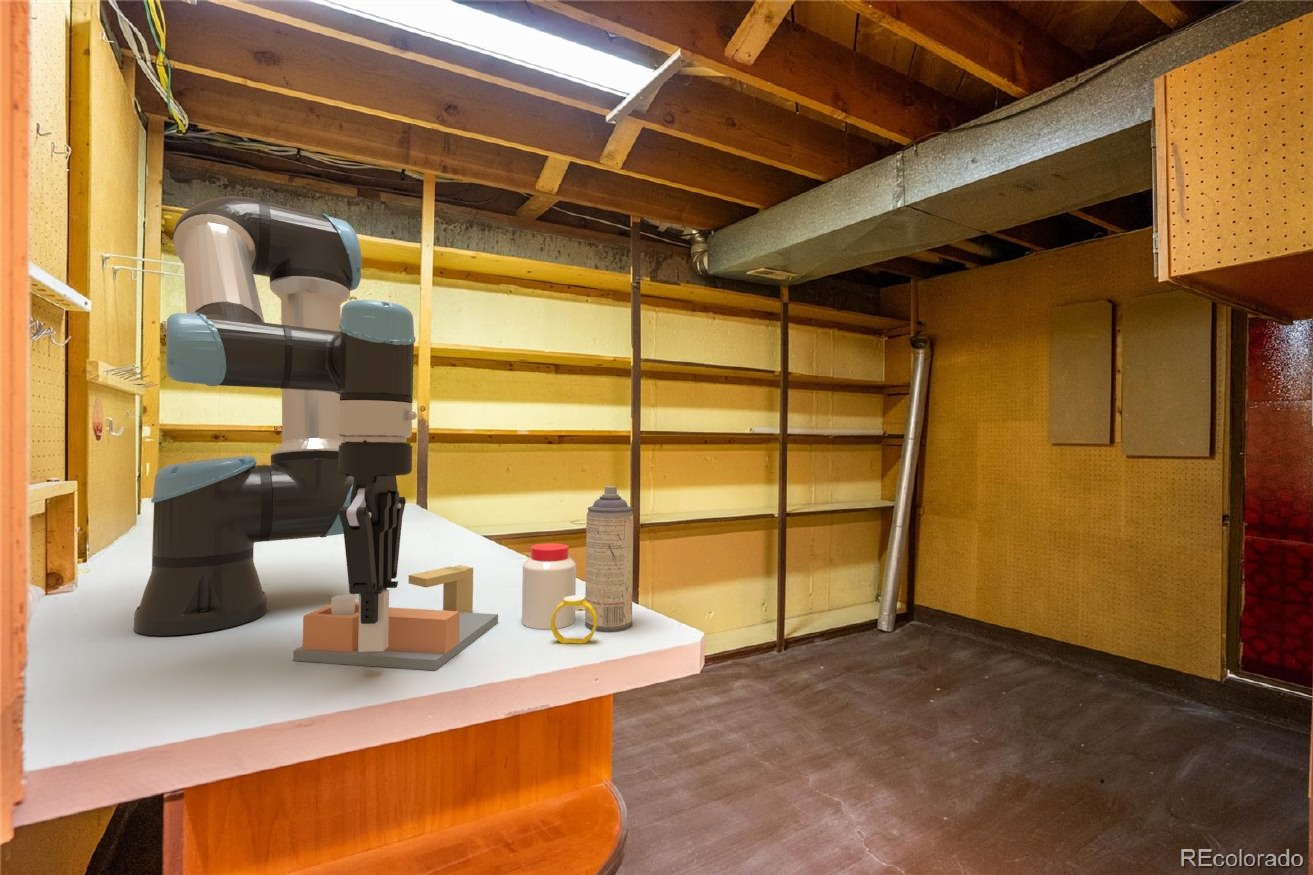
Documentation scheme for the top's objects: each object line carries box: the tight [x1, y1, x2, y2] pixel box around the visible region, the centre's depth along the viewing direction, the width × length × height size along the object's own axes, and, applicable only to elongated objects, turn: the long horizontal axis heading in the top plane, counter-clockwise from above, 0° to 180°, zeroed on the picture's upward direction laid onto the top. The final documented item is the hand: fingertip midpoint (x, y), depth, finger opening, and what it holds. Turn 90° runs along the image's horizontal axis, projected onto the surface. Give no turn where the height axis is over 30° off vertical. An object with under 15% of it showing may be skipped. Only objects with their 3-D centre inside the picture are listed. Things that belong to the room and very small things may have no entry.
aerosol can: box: [584, 485, 634, 633], centre depth 85 cm, size 7×7×20 cm
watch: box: [550, 595, 597, 645], centre depth 78 cm, size 6×3×6 cm, turn 91°
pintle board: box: [292, 564, 499, 672], centre depth 79 cm, size 18×22×7 cm
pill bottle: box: [521, 542, 577, 630], centre depth 86 cm, size 8×8×11 cm
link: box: [302, 601, 460, 654], centre depth 72 cm, size 17×6×4 cm, turn 83°
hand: (373, 648), depth 66 cm, fingers closed
